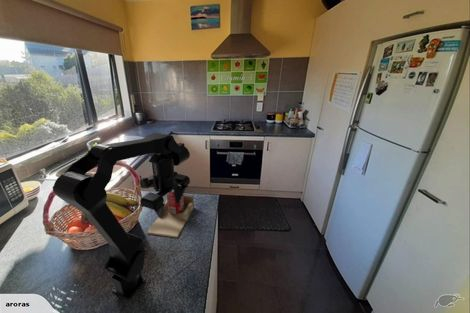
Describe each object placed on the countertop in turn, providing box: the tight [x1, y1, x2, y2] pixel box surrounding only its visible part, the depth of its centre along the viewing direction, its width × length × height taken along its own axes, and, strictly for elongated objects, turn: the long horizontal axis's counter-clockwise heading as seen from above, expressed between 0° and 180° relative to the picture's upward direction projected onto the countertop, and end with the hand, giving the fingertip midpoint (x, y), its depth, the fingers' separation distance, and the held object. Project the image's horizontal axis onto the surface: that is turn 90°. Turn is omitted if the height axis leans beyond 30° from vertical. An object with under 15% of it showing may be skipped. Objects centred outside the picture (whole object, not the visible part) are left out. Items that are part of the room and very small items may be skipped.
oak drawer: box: [146, 193, 195, 238], centre depth 85 cm, size 19×12×7 cm, turn 172°
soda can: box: [166, 189, 184, 214], centre depth 88 cm, size 7×7×12 cm
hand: (169, 210), depth 71 cm, fingers open, 9 cm apart
